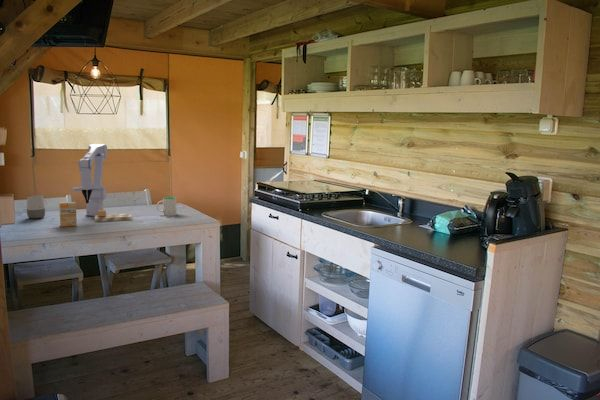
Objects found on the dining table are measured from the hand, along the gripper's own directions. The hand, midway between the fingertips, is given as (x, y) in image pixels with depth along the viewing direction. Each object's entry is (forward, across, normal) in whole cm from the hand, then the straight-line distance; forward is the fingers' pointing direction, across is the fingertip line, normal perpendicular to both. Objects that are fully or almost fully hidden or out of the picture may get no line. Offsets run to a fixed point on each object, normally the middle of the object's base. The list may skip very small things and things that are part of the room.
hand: (87, 202), depth 280 cm
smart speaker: (+11, -28, +16) cm, 34 cm away
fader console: (+10, +14, 0) cm, 17 cm away
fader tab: (+8, +7, 0) cm, 11 cm away
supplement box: (+11, -10, -12) cm, 19 cm away
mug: (+11, +45, +6) cm, 47 cm away
